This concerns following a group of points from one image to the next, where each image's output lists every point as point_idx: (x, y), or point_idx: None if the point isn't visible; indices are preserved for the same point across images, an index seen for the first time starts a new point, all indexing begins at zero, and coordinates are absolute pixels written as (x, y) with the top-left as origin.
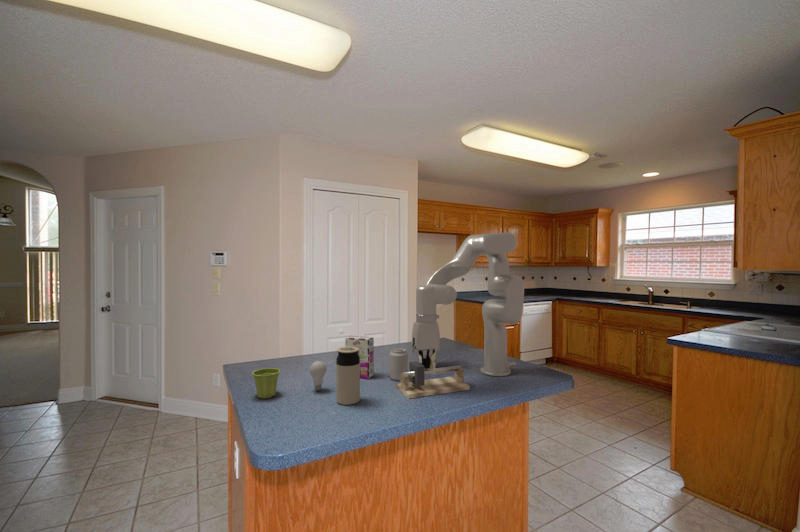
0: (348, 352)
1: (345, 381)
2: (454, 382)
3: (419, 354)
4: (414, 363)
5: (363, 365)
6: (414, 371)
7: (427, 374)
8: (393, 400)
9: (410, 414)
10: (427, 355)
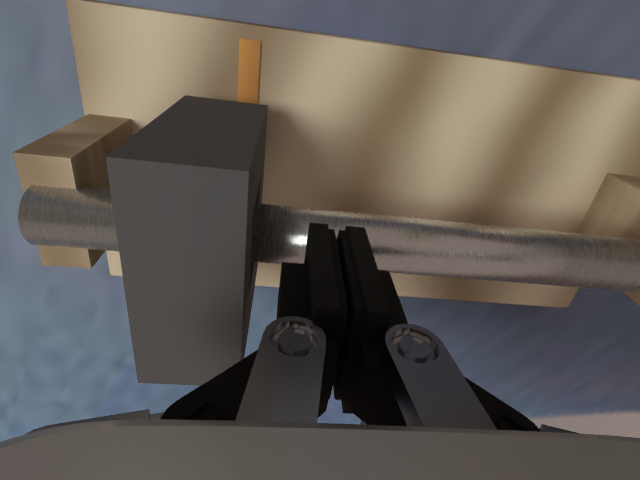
0: None
1: None
2: (545, 224)
3: (216, 386)
4: (164, 259)
5: None
6: None
7: None
8: (11, 239)
9: (73, 403)
10: (359, 401)
